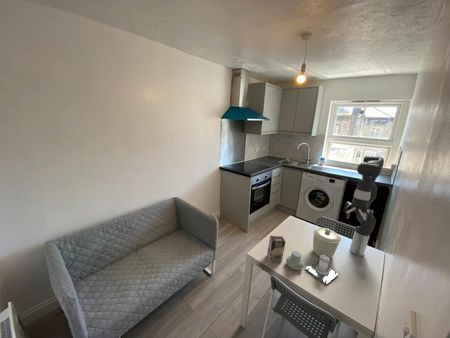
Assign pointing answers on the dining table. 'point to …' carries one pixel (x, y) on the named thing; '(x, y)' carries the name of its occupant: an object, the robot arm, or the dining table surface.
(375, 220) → the robot arm
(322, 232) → the canister
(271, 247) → the coffee box
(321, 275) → the duct flange
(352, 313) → the dining table surface
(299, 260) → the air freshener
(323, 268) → the duct stub
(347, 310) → the dining table surface
